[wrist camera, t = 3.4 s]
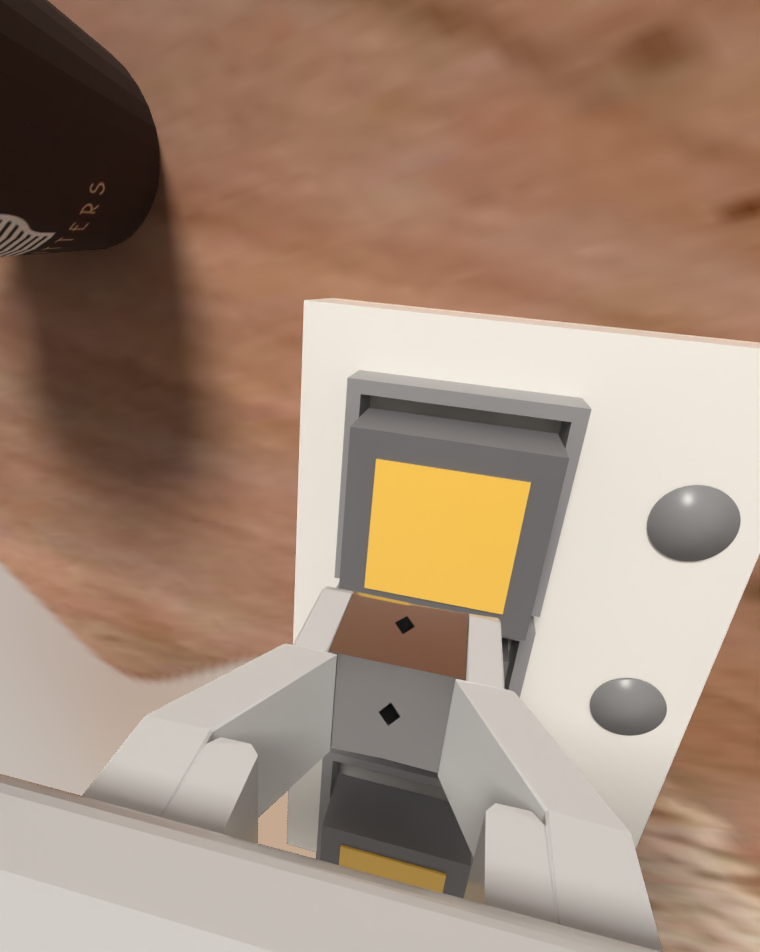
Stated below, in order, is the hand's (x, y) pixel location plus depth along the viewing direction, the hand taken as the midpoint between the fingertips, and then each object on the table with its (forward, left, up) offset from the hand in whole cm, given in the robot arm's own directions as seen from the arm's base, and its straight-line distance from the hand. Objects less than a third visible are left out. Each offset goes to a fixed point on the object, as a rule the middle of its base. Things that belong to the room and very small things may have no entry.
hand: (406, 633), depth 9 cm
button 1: (0, 0, -6) cm, 6 cm away
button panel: (-2, +7, -11) cm, 13 cm away
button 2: (0, +14, -6) cm, 15 cm away
